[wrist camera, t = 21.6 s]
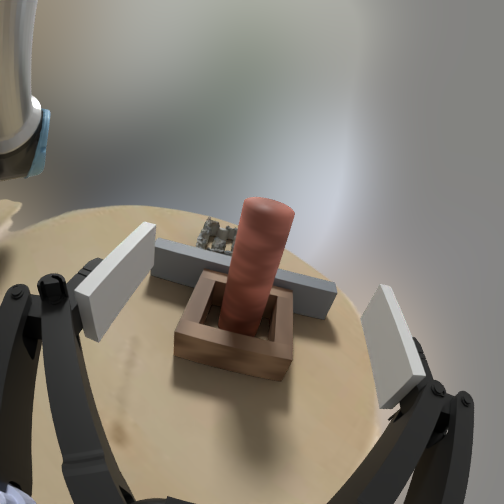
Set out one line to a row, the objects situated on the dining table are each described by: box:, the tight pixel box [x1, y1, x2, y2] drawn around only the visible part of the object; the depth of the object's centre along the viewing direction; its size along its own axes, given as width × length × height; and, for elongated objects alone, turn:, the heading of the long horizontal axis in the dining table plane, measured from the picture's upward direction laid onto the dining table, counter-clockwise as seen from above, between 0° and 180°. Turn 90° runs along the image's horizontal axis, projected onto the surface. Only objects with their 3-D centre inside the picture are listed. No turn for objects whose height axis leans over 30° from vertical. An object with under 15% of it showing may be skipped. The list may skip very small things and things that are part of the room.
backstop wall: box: [151, 238, 337, 320], centre depth 39 cm, size 26×2×5 cm, turn 83°
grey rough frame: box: [196, 217, 238, 257], centre depth 49 cm, size 11×8×4 cm
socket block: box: [174, 268, 293, 381], centre depth 32 cm, size 12×12×4 cm
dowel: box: [218, 197, 295, 337], centre depth 30 cm, size 5×5×16 cm
